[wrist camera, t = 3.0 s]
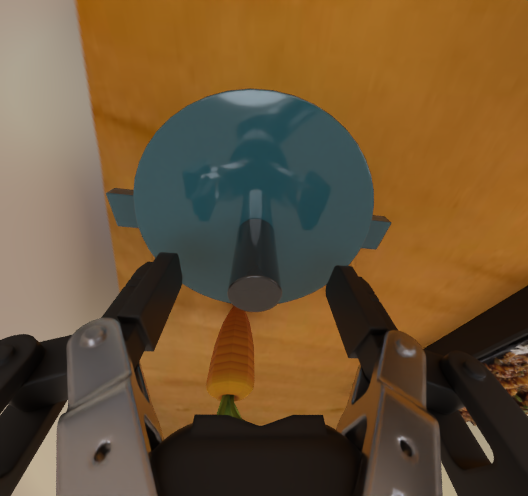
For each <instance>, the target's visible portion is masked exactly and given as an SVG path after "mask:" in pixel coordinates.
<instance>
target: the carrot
mask: <svg viewBox="0 0 528 496" xmlns="http://www.w3.org/2000/svg"><path fill="white" fill-rule="evenodd" d="M206 387H207V391H208V393H209V394H210V395H211V396H213V397H214V398H216V399H217V400H218V401H221V402H220V406H219V409H218V412H217V415H230V416H232V417H235V418H238V419H241V420H243V419H242V418H241V416H240V414H239V412H238V409H237V407H236V405H235V403H234V401H240V400H242V399H244V398H245V397H246V396H247V395H249V394H250V392H251V391H252V390H253V387H254V346H253V339H252V333H251V327H250V323H249V320H248V317H247V315H246V313H245V311H244V310H241V309H239V308H237V307H235V306H234V307H233V308H232V309H231V311H230V312H229V314H228V315H227V317H226V319H225V321H224V322H223V325H222V327H221V330H220V332H219V335H218V338H217V340H216V343H215V347H214V351H213V355H212V359H211V363H210V368H209V373H208V378H207V384H206ZM244 421H245V420H244Z"/></svg>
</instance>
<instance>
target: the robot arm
mask: <svg viewBox="0 0 528 496" xmlns="http://www.w3.org/2000/svg"><path fill="white" fill-rule="evenodd" d="M181 285H182V272H181V266H180V260H179V256H178V254H177V253H166V252H160V253H159V254H158V255H157V257H156V258H155V260H154V261H153V262H147V263H145V264H144V265H142V266H141V267H140V268H138V269H137V270H136V272H135V273H134V274H133V276H132V277H131V279H130V280H129V281H128V283H127V284H126V287H124V288H123V289H122V291H121V292H120V293H119V295H118V296H117V297H116V299H115V300H114V301H113V303H112V304H111V305H110V307H109V308H108V310H107V311H106V312H105V314H104V315H103V316H102V317H101V318H100V319H96V320H93V321H91V322H89V323H87V324H85V325H83V326H82V327H80V328H79V329H78V330H77V331H76V332H75V333H74V334H73V335H69V336H65V337H60V338H56V339H51V340H47V341H43V342H38V341H37V340H36V339H35V338H34V337H33V336H30V335H26V334H21V335H14V336H10V337H7V338H5V339H2V340H0V413H1V412H2V411H3V410H4V408H5V407H6V406H7V405H8V404H9V405H8V406H7V407H6V409H5V410H4V411H3V413H2V414H1V415H0V496H11V494H12V493H13V491H14V489H15V487H16V486H17V484H18V482H19V481H20V479H21V477H22V476H23V474H24V472H25V471H26V469H27V467H28V465H29V464H30V462H31V461H32V459H33V457H34V455H35V454H36V452H37V450H38V449H39V447H40V445H41V444H42V442H43V440H44V439H45V437H46V435H47V434H48V432H49V430H50V428H51V427H52V425H53V423H54V422H55V420H56V418H57V417H58V415H59V413H60V412H61V410H62V408H63V407H64V405H65V403H66V402H67V400H68V409H67V412H66V413H64V414H62V415H61V417H60V418H59V421H58V425H57V471H56V472H57V473H56V476H57V477H56V482H57V483H56V496H442V476H441V475H442V474H441V462H442V464H443V466H444V468H445V470H446V472H447V474H448V476H449V478H450V480H451V482H452V484H453V487H454V488H455V491H456V493H457V495H458V496H528V416H527V415H526V414H525V412H524V411H523V410H522V409H521V408H520V406H519V405H518V404H517V403H516V402H515V400H514V399H513V398H512V397H511V396H510V394H509V393H508V392H507V391H506V390H505V388H504V387H503V386H502V385H501V384H500V382H499V381H498V380H497V379H496V377H495V376H494V375H493V374H492V373H491V371H490V370H489V369H488V368H487V367H486V366H485V365H484V364H482V363H481V362H480V361H479V360H477V359H476V358H474V357H473V356H471V355H469V354H467V353H465V352H462V351H457V350H454V351H451V352H450V353H448V354H447V355H446V356H443V355H440V354H437V353H434V352H431V351H428V350H425V349H423V348H422V347H421V346H420V344H419V343H418V342H417V341H416V340H415V339H413V338H412V337H411V336H409V335H408V334H406V333H404V332H401V331H398V329H397V328H396V326H395V325H394V323H393V322H392V320H391V318H390V317H389V315H388V314H387V312H386V310H385V309H384V307H383V306H382V304H381V302H379V299H378V298H377V296H376V295H375V294H374V291H373V290H372V288H371V286H370V285H369V284H368V283H367V282H366V281H365V280H364V279H363V278H362V277H358V276H357V274H356V272H355V270H354V269H353V267H351V266H340V265H336V266H335V267H334V269H333V271H332V274H331V276H330V278H329V281H328V283H327V286H326V297H327V300H328V303H329V305H330V308H331V311H332V314H333V317H334V319H335V322H336V325H337V328H338V330H339V333H340V336H341V339H342V342H343V344H344V347H345V350H346V353H347V355H348V358H358V359H359V362H360V365H359V366H358V369H357V372H356V376H355V379H354V382H353V386H352V389H351V393H350V396H349V400H348V403H347V406H346V408H345V411H344V412H343V414H342V416H341V418H340V420H339V423H338V425H337V428H336V430H335V429H334V428H332V427H330V426H328V425H325V422H324V418H323V415H291V416H288V417H286V418H283V419H280V420H277V421H275V422H272V423H269V424H266V425H263V426H258V425H255V424H252V423H249V422H247V421H244V420H241V419H238V418H235V417H232V416H230V415H195V416H194V421H193V423H192V424H189V425H187V426H185V427H183V428H181V429H179V430H177V431H176V432H174V433H172V434H171V435H169V436H168V437H167V438H166V439H165V440H164V437H163V434H162V430H161V427H160V424H159V421H158V418H157V416H156V413H155V411H154V408H153V405H152V402H151V399H150V395H149V392H148V388H147V385H146V381H145V378H144V374H143V371H142V367H141V364H140V359H141V356H142V354H143V352H144V351H154V350H155V347H156V345H157V343H158V340H159V338H160V335H161V333H162V331H163V328H164V326H165V324H166V321H167V319H168V317H169V314H170V312H171V310H172V307H173V305H174V303H175V300H176V298H177V295H178V293H179V291H180V288H181ZM464 407H465V408H466V410H467V411H468V413H469V414H470V416H471V417H472V419H473V420H474V422H475V423H476V425H477V427H478V428H479V430H480V431H481V433H482V434H483V436H484V437H485V439H486V441H487V442H488V444H489V445H490V447H491V449H492V451H493V455H494V462H493V463H491V462H490V461H489V459H488V458H487V456H486V455H485V453H484V451H483V450H482V448H481V447H480V445H479V443H478V442H477V440H476V438H475V437H474V435H473V434H472V432H471V430H470V429H469V427H468V425H467V424H466V422H465V421H464V419H463V417H462V416H461V414H460V412H459V411H458V410H459V409H462V408H464Z"/></svg>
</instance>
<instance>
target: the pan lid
mask: <svg viewBox="0 0 528 496" xmlns="http://www.w3.org/2000/svg"><path fill="white" fill-rule="evenodd" d="M133 197H134V211H135V215H136V220H137V224H138V227H139V229H140V232H141V235H142V237H143V239H144V241H145V243H146V245H147V247H148V249H149V250H150V251H151V253H152V254H153V256H154V257H155V258H156V257H157V255H158V254H159V253H160V252H166V253H177V254H178V256H179V260H180V266H181V272H182V284H184V285H185V286H187V287H189V288H190V289H192V290H194V291H196V292H198V293H200V294H202V295H204V296H207V297H210V298H213V299H215V300H219V301H223V302H227V303H232V304H233V305H234V306H235V307H237V308H239V309H241V310H244V311H248V312H262V311H266V310H269V309H271V308H273V307H274V306H276V305H277V304H280V303H284V302H288V301H292V300H295V299H298V298H301V297H304V296H306V295H308V294H311V293H313V292H315V291H317V290H318V289H320V288H322V287H324V286H325V285H327V283H328V281H329V278H330V276H331V274H332V271H333V269H334V267H335V266H336V265H340V266H348V265H349V264H350V263H351V262H352V260H353V259H354V258H355V256H356V255H357V254H358V252H359V250H360V248H361V247H362V245H363V243H364V241H365V239H366V236H367V234H368V231H369V228H370V224H371V221H372V215H373V208H374V189H373V184H372V178H371V173H370V170H369V167H368V164H367V162H366V159H365V157H364V155H363V153H362V151H361V149H360V148H359V146H358V144H357V142H356V141H355V140H354V139H353V137H352V136H351V135H350V133H349V132H348V131H347V130H346V128H345V127H343V126H342V125H341V124H340V123H339V122H338V121H337V120H336V119H335V118H334V117H333V116H332V115H330V114H329V113H327V112H325V111H324V110H322V109H321V108H319V107H318V106H316V105H315V104H313V103H310V102H308V101H306V100H303V99H301V98H299V97H296V96H294V95H290V94H286V93H282V92H278V91H274V90H263V89H241V90H230V91H225V92H221V93H218V94H214V95H210V96H207V97H205V98H202V99H200V100H198V101H196V102H194V103H192V104H190V105H187V106H186V107H185V108H183V109H182V110H180V111H179V112H177V113H176V114H175V115H173V116H172V117H170V118H169V119H168V120H167V121H166V122H165V123H164V125H163V126H162V127H161V128H160V129H159V130H158V131H157V132H156V133H155V135H154V136H153V138H152V139H151V140H150V142H149V143H148V145H147V146H146V148H145V150H144V153H143V155H142V157H141V159H140V161H139V164H138V168H137V172H136V176H135V182H134V192H133Z"/></svg>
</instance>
